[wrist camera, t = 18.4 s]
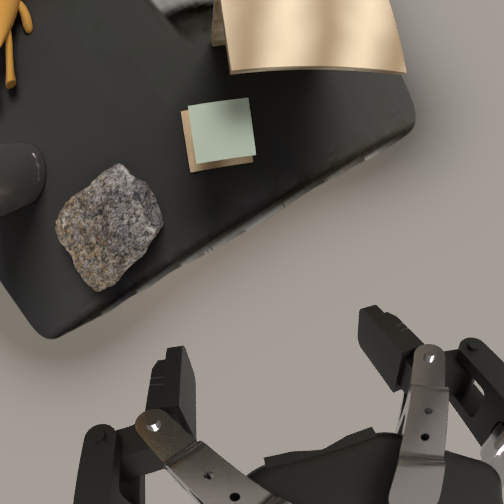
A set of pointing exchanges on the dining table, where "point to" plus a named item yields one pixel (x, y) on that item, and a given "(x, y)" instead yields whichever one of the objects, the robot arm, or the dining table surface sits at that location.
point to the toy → (3, 16)
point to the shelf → (308, 35)
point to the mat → (191, 153)
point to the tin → (222, 130)
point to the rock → (109, 226)
